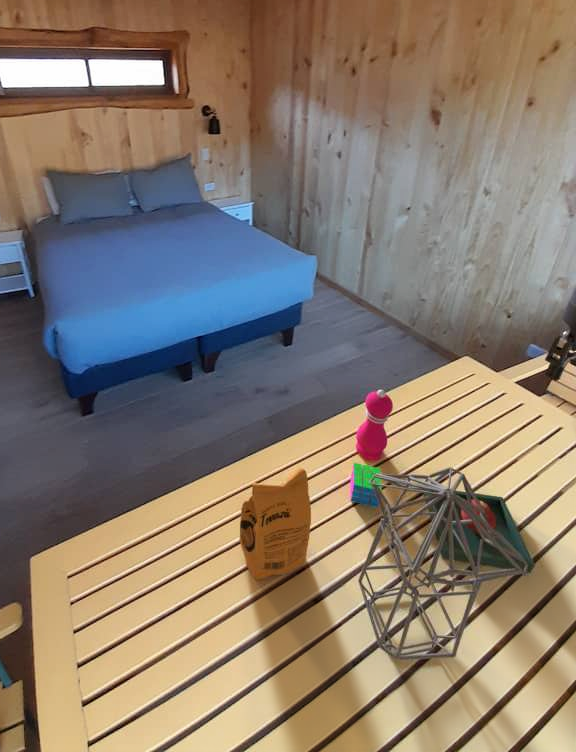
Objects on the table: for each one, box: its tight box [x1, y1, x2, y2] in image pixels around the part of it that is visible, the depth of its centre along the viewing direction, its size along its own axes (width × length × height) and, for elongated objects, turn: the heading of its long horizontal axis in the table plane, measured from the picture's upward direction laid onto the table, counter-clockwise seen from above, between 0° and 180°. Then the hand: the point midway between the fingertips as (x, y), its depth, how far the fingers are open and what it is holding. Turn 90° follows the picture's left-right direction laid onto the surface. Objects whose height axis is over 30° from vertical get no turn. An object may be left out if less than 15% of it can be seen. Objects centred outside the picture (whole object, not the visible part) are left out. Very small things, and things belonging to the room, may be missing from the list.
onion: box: [461, 500, 495, 534], centre depth 81 cm, size 6×6×8 cm
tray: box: [422, 489, 536, 574], centre depth 83 cm, size 16×14×3 cm
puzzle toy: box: [350, 462, 383, 509], centre depth 90 cm, size 6×6×6 cm
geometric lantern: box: [357, 466, 528, 662], centre depth 62 cm, size 16×16×35 cm
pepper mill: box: [355, 389, 394, 462], centre depth 97 cm, size 7×7×20 cm
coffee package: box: [239, 467, 312, 581], centre depth 76 cm, size 10×12×22 cm
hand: (564, 371), depth 82 cm, fingers open, 8 cm apart
